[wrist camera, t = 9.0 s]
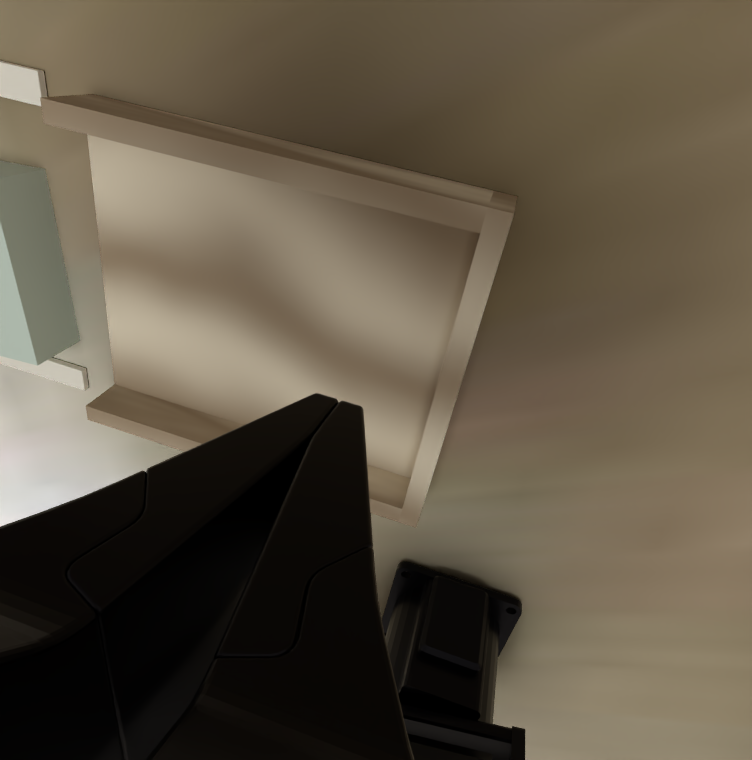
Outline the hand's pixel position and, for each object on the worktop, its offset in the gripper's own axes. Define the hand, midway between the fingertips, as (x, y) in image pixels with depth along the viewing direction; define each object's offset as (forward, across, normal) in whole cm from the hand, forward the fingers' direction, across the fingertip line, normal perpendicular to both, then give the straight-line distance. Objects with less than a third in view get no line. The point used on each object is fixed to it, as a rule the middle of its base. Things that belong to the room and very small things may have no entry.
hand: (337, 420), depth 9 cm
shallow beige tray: (+12, +6, +5) cm, 14 cm away
